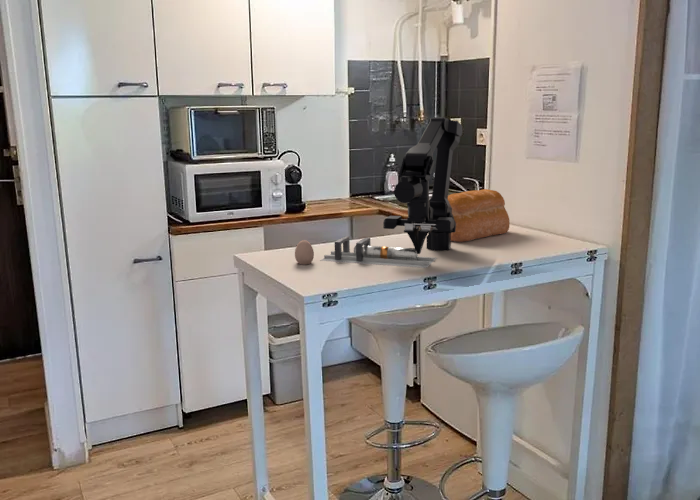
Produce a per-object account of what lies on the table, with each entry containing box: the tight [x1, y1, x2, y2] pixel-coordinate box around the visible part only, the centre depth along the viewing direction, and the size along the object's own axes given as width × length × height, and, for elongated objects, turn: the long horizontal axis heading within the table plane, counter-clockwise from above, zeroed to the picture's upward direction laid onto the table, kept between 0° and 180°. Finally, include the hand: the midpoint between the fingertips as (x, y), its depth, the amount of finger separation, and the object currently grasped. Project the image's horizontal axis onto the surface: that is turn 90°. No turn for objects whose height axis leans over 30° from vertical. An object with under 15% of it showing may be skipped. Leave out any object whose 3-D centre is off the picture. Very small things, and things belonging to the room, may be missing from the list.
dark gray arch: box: [355, 237, 371, 261], centre depth 189 cm, size 2×8×5 cm, turn 159°
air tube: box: [353, 244, 419, 261], centre depth 187 cm, size 18×4×4 cm, turn 69°
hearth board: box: [319, 250, 437, 269], centre depth 188 cm, size 31×12×2 cm, turn 69°
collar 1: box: [334, 235, 351, 260], centre depth 191 cm, size 2×8×5 cm, turn 159°
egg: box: [294, 239, 315, 266], centre depth 185 cm, size 5×5×7 cm
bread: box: [448, 188, 510, 243], centre depth 220 cm, size 14×26×15 cm, turn 128°
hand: (418, 253), depth 183 cm, fingers closed
